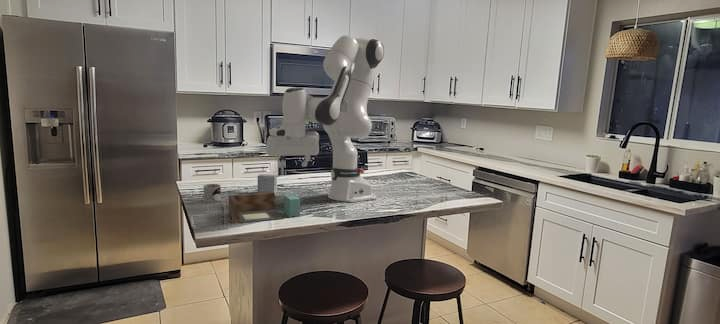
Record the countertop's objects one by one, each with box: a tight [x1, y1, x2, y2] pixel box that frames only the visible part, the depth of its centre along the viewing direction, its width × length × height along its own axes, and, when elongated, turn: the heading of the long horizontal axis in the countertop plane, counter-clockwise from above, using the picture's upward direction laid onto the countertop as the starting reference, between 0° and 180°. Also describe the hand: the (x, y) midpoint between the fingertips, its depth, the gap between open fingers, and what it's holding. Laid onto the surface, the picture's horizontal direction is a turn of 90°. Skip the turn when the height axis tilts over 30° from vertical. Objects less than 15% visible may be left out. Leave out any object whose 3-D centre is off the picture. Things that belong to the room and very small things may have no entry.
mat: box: [239, 209, 284, 224], centre depth 157 cm, size 16×12×1 cm
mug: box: [203, 183, 222, 204], centre depth 176 cm, size 10×7×7 cm, turn 170°
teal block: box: [283, 194, 301, 218], centre depth 162 cm, size 4×7×7 cm, turn 27°
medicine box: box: [257, 173, 278, 194], centre depth 191 cm, size 8×4×9 cm, turn 84°
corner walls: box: [228, 192, 276, 224], centre depth 157 cm, size 18×14×7 cm
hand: (292, 166), depth 159 cm, fingers open, 8 cm apart
